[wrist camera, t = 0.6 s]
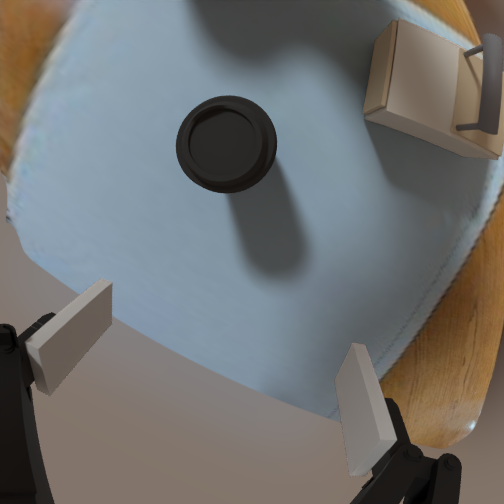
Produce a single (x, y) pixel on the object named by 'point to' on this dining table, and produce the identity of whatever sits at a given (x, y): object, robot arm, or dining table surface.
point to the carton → (417, 87)
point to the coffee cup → (226, 144)
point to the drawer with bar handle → (481, 95)
